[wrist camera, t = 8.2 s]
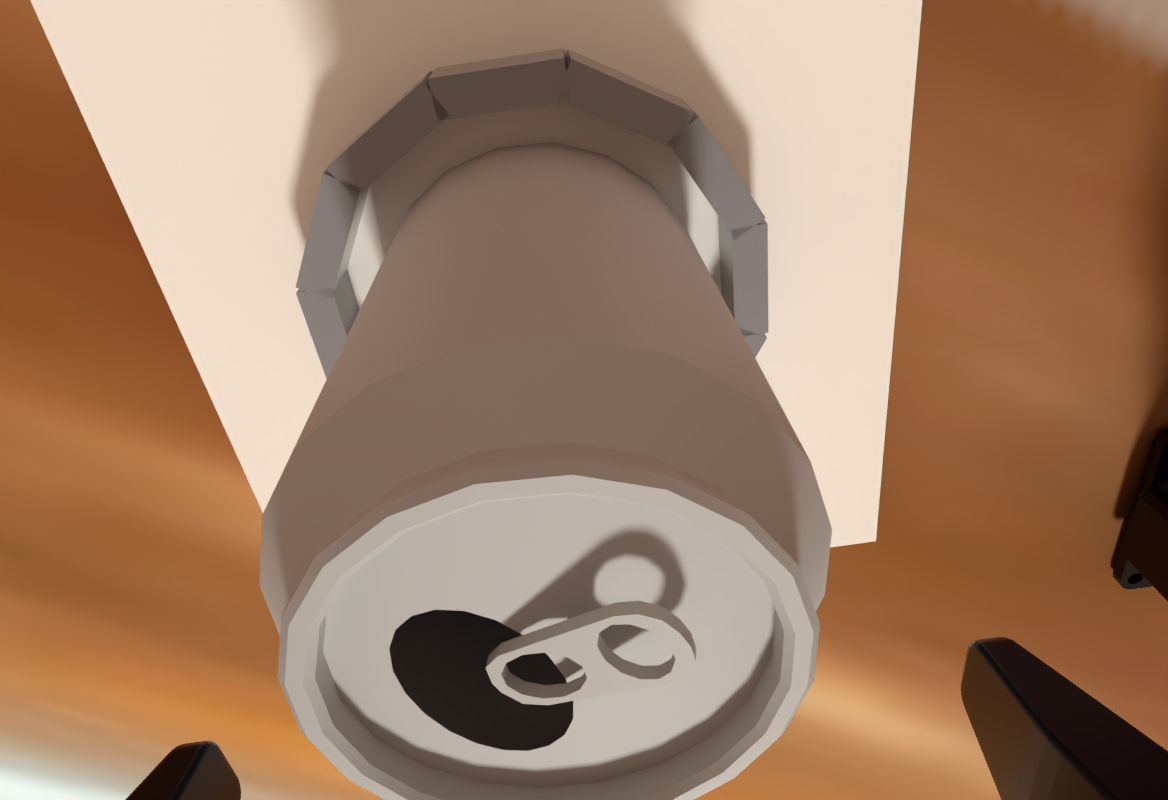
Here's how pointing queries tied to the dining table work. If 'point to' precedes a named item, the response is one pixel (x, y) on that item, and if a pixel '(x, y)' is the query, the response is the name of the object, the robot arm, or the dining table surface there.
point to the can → (545, 508)
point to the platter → (499, 119)
